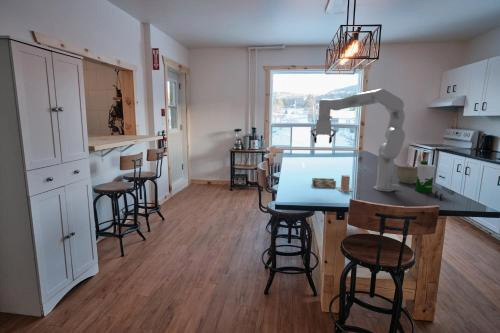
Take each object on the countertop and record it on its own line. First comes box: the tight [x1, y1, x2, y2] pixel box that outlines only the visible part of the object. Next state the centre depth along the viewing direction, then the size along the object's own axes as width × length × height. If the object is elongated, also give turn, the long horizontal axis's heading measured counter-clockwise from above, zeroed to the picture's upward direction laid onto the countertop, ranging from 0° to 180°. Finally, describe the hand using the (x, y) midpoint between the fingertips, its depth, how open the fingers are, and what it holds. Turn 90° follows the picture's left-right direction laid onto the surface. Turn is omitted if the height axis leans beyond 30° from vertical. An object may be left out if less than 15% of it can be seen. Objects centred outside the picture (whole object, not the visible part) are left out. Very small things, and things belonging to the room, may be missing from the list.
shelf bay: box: [311, 177, 337, 189], centre depth 206 cm, size 15×8×4 cm, turn 84°
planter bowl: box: [395, 165, 418, 184], centre depth 219 cm, size 16×16×11 cm
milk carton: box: [414, 160, 437, 194], centre depth 193 cm, size 9×9×20 cm
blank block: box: [340, 174, 351, 190], centre depth 196 cm, size 4×4×9 cm
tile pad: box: [336, 186, 354, 193], centre depth 197 cm, size 9×9×1 cm
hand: (322, 143), depth 200 cm, fingers open, 9 cm apart
